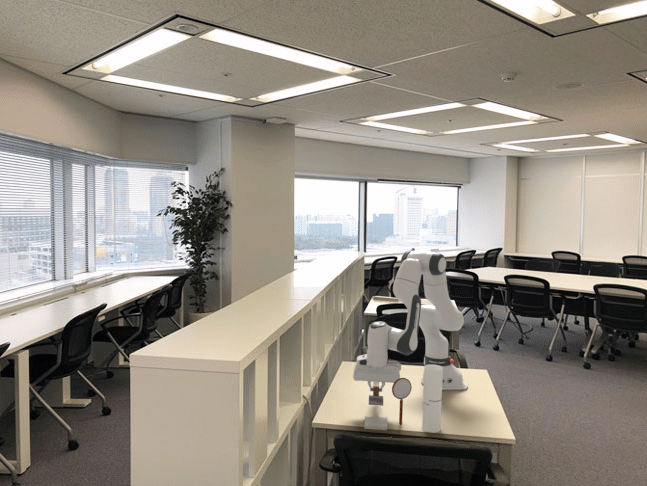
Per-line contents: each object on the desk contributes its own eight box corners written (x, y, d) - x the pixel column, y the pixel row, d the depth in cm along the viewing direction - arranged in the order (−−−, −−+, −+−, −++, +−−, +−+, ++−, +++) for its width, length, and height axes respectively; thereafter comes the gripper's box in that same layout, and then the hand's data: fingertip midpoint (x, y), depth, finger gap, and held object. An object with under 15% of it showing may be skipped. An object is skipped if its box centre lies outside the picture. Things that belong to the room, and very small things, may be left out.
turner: (369, 385, 227) (369, 377, 226) (382, 386, 226) (382, 378, 226) (368, 404, 205) (368, 395, 205) (383, 405, 204) (383, 396, 204)
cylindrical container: (439, 433, 195) (441, 371, 193) (420, 430, 197) (423, 368, 195) (441, 426, 201) (444, 365, 200) (423, 423, 204) (426, 363, 202)
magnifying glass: (391, 428, 198) (393, 379, 197) (389, 426, 200) (391, 378, 198) (411, 425, 201) (412, 377, 200) (408, 424, 203) (410, 376, 201)
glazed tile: (386, 417, 206) (387, 427, 197) (386, 421, 206) (387, 431, 197) (364, 416, 207) (364, 425, 198) (364, 420, 207) (364, 429, 198)
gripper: (401, 358, 217) (399, 389, 218) (353, 356, 219) (353, 387, 220) (401, 363, 211) (400, 395, 212) (353, 360, 213) (352, 392, 214)
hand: (376, 391), depth 216 cm, fingers closed on turner, 2 cm apart
